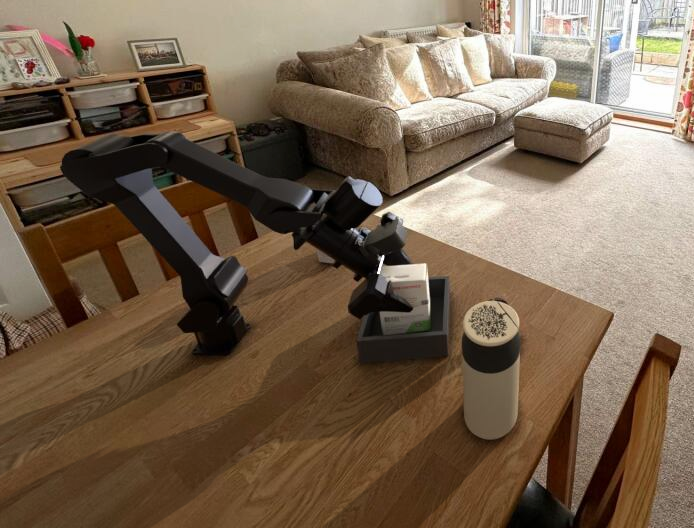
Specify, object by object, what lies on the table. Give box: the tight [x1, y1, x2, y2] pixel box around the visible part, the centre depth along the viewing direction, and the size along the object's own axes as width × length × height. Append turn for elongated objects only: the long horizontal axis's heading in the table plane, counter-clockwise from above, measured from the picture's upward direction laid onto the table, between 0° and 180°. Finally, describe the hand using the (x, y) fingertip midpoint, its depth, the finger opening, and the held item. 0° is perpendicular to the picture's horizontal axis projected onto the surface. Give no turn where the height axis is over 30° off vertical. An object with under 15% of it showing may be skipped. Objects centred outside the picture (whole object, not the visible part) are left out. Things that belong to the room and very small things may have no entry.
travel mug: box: [461, 300, 521, 440], centre depth 57 cm, size 8×8×18 cm
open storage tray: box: [356, 275, 451, 364], centre depth 74 cm, size 15×15×5 cm
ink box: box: [379, 262, 431, 335], centre depth 73 cm, size 9×5×12 cm, turn 98°
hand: (414, 290), depth 72 cm, fingers open, 9 cm apart
